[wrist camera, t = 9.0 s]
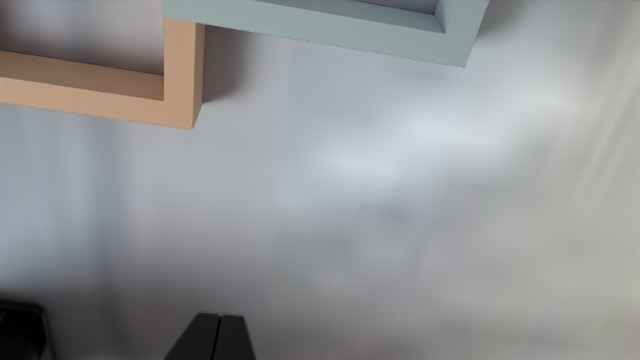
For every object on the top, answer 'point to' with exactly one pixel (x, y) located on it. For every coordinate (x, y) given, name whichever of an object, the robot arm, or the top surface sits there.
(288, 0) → the trap box
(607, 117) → the top surface
